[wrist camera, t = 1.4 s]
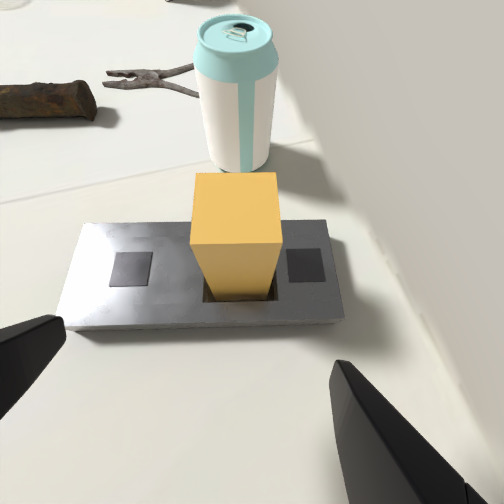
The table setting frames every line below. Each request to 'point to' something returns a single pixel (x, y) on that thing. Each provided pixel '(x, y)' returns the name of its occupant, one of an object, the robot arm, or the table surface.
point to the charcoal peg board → (190, 281)
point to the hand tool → (47, 100)
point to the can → (236, 89)
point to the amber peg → (236, 233)
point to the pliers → (150, 79)
